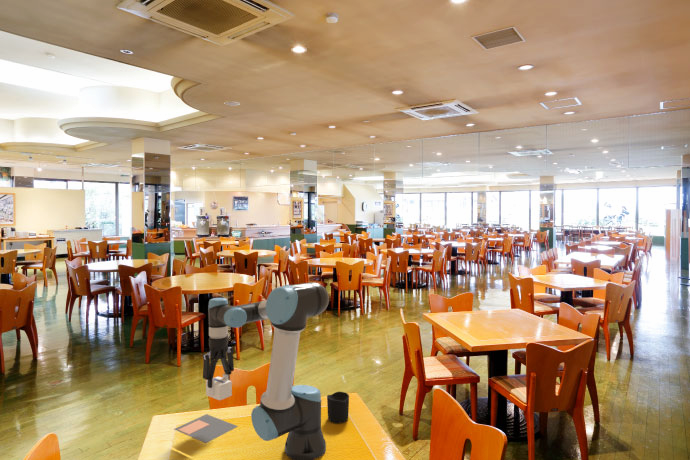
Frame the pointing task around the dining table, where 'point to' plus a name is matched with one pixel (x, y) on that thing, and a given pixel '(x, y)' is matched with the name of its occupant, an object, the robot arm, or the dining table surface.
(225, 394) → the white box
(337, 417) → the pen holder
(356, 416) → the dining table surface
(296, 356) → the robot arm
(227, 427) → the mat
